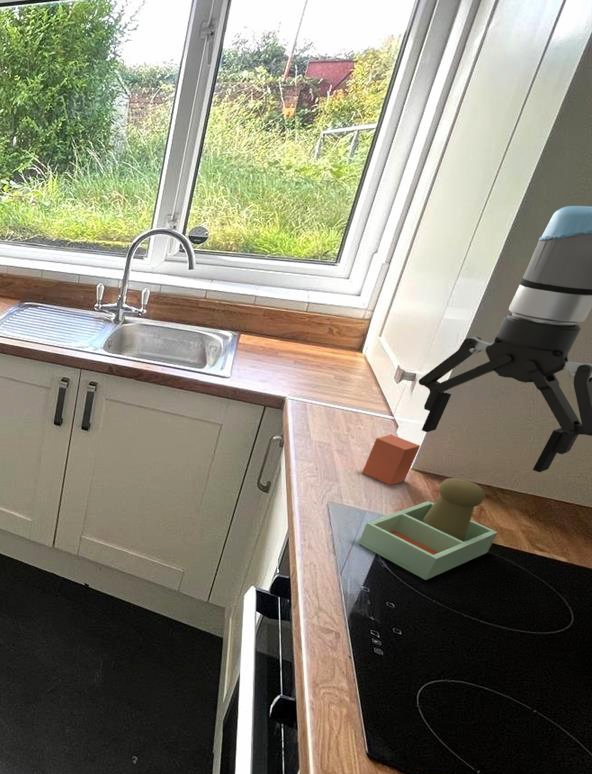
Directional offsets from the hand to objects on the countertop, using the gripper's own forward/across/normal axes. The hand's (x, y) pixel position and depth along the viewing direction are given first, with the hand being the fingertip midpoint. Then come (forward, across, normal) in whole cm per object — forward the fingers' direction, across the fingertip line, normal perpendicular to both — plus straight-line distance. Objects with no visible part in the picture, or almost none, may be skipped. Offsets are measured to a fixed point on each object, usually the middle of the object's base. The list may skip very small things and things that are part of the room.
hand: (480, 448), depth 91 cm
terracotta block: (+17, +16, -15) cm, 28 cm away
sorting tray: (+18, 0, +5) cm, 18 cm away
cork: (+17, 0, +1) cm, 17 cm away
